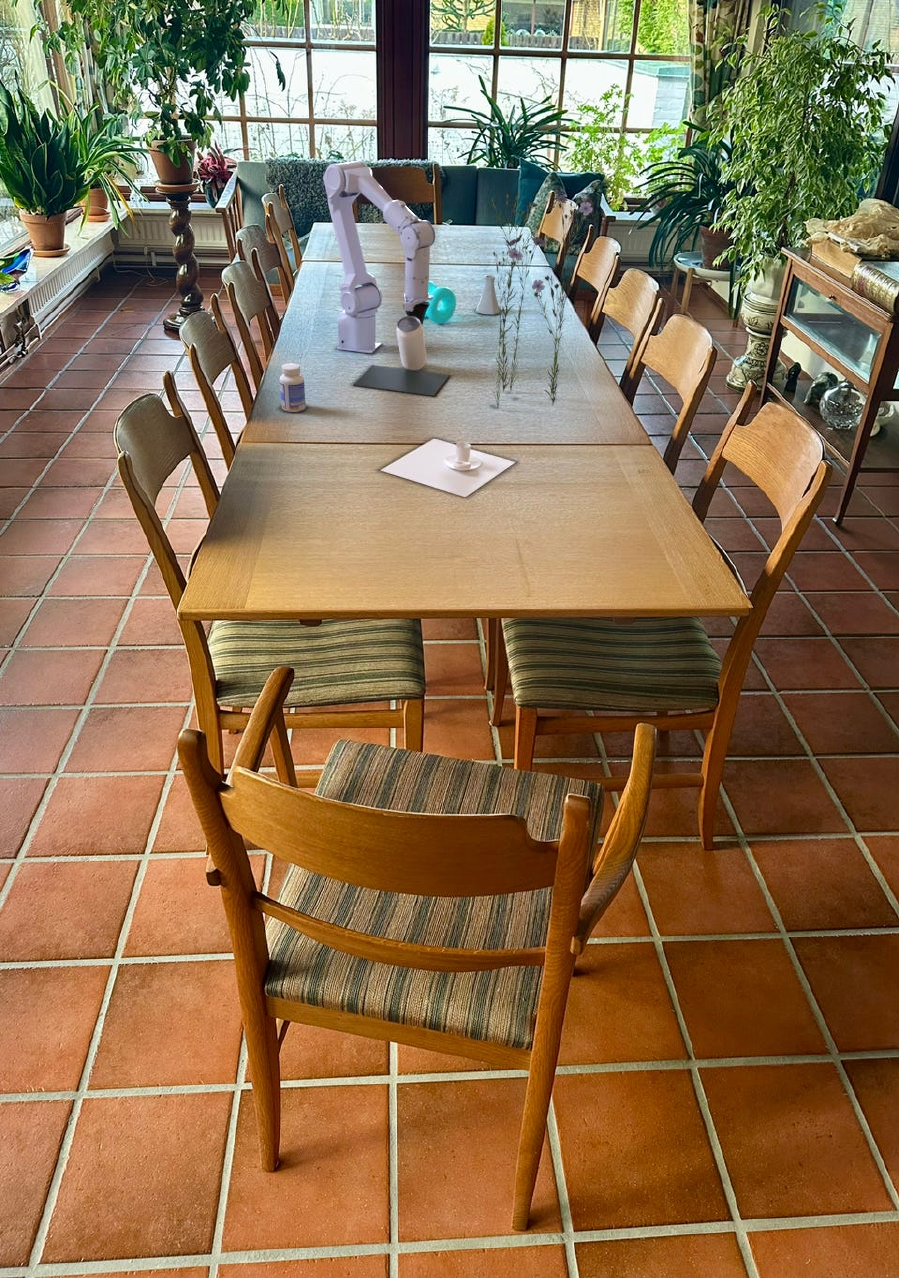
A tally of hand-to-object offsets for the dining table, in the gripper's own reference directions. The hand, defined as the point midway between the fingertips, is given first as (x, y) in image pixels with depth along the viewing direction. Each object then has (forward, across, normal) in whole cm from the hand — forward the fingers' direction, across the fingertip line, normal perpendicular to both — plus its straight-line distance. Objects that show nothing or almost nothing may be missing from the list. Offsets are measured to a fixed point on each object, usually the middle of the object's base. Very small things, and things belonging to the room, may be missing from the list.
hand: (415, 332), depth 244 cm
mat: (+8, -11, 0) cm, 14 cm away
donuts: (+9, +38, +6) cm, 40 cm away
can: (+7, -1, 0) cm, 7 cm away
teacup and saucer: (+9, -55, -23) cm, 60 cm away
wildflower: (+9, -14, -31) cm, 35 cm away
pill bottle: (+9, -36, +18) cm, 42 cm away
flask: (+9, +52, -7) cm, 54 cm away
